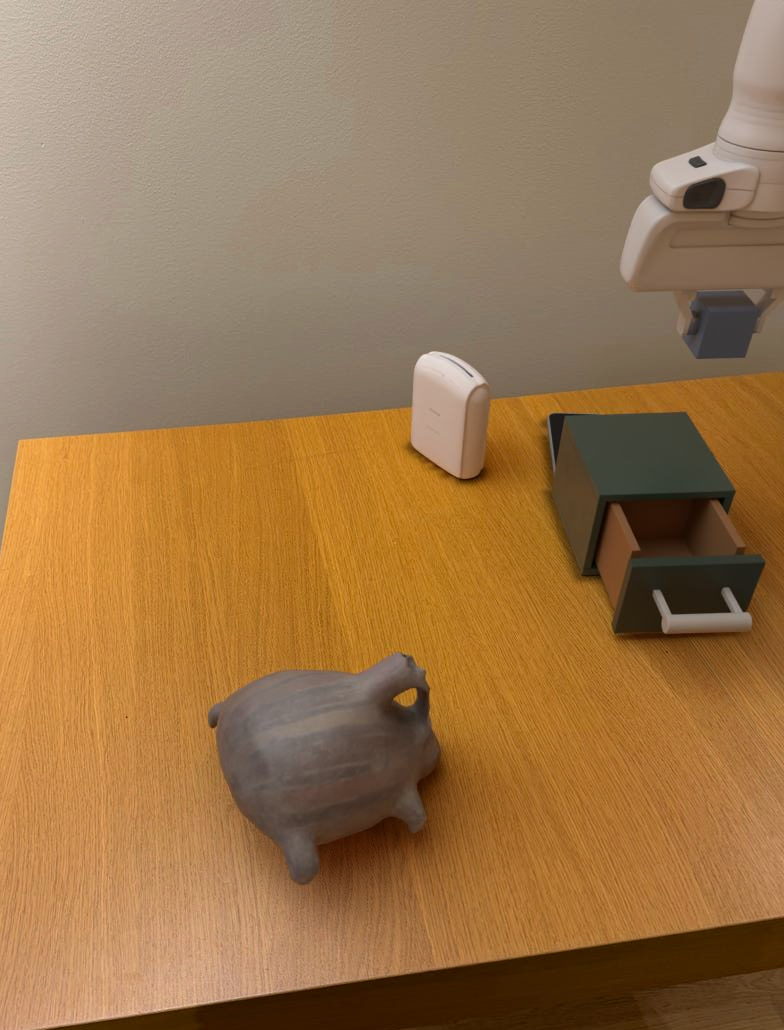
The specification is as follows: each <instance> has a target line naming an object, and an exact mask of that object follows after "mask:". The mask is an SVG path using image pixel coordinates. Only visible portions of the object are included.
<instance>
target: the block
mask: <svg viewBox="0 0 784 1030" xmlns="http://www.w3.org/2000/svg"><path fill="white" fill-rule="evenodd" d="M689 306H690V309H691V310H695V311H696V312H697V313H698V315H699V316H700V317H701V322H700V325H699V327H698V332H697V334H696V335H681V338H682V340H683V342H684V343H685V345H686V346H687V347H688V349H689V350H690V352H691V354H692V355H693V356H694V358H695V359H696V360H711V359H712V360H713V359H714V360H715V359H746V357H747V354H748V351H749V347H750V344H751V341H752V337H753V334H754V333H753V332H754V329H755V326H756V323H757V319H758V316H759V313H760V310H759V309H758V307H757V306H756V304H755V303H754V301H752V299H751V298H750V296H748V295H747V293H746V292H745V291H744V289H735V290H698V291H697V295H696V298H695V300H694V301H690V304H689Z"/></svg>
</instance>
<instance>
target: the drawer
mask: <svg viewBox="0 0 784 1030" xmlns="http://www.w3.org/2000/svg"><path fill="white" fill-rule="evenodd" d="M746 549H747V545H746V543H745V542H744V540H743V539H742V537H741V535H740V534H739V532H738V531H737V529H736V527H735V525H734V524H733V522H732V520H731V519H730V516H729V514H728V515H727V514H726V512H725V510H724V509H723V507H722V505H721V504H720V502H719V500H718V499H717V498H699V499H669V500H639V501H610V502H606V505H605V509H604V514H603V518H602V522H601V527H600V531H599V535H598V540H597V544H596V548H595V552H594V559H595V562H596V565H597V567H598V570H599V572H600V575H599V576H600V577H601V580H602V582H603V584H604V587H605V590H606V592H607V595H608V597H609V599H610V603H611V605H612V608H613V610H614V613H613V616H612V621H611V625H610V626H611V629H612V632H613V633H614V634H636V633H637V634H639V633H641V634H642V633H663V634H665V635H670V634H673V635H675V634H700V633H701V634H704V633H707V634H708V633H734V632H735V633H736V632H737V633H738V632H749V631H750V630H752V627H753V617H752V615H751V613H750V612H747V611H748V609H749V607H750V603H751V601H752V599H753V596H754V593H755V591H756V588H757V586H758V583H759V581H760V579H761V576H762V573H763V570H764V569H765V566H766V561H765V558H764V557H763V555H762V554H760V553H756V554H755V553H754V554H753V553H752V554H745V552H746Z"/></svg>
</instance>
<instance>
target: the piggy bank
mask: <svg viewBox="0 0 784 1030" xmlns="http://www.w3.org/2000/svg"><path fill="white" fill-rule="evenodd" d="M426 675H427V670H426V669H425V668H423V667H420V666H418V664H417V662H416V661H415V659H414V656H413V655H412V654H406V653H402V652H401V651H396V652H394V653H392V654H390V655H388V656H387V657H385V658H382V659H381V660H380V661H378V662H376V663H374V664H373V665H372V666H370V667H368V668H366V669H365V670H362V671H360V672H356V673H352V672H347V671H340V670H326V669H325V670H323V669H287V670H280V671H276V672H275V671H274V672H272V673H269V674H267V675H264V676H262V677H260V678H256V679H254V680H253V681H250V682H249V683H247V684H246V685H244V686H242V687H240V688H239V689H237V690H236V691H234V692H233V693H231V694H230V695H229V696H228V697H227V698H226V699H225V700H223V701H219V702H217V703H215V704H214V705H212V706H211V708H210V709H209V711H208V714H207V723H208V726H209V728H210V729H212V730H214V729H215V728H216V729H215V742H216V748H217V754H218V755H217V756H218V762H219V766H220V769H221V771H222V775H223V778H224V780H225V782H226V785H227V788H228V790H229V792H230V794H231V796H232V798H233V801H234V803H235V805H236V807H237V809H238V811H239V812H240V813H241V815H242V816H243V817H244V818H245V819H247V820H248V821H249V822H250V823H251V824H252V825H253V826H254V827H255V828H257V829H258V830H259V831H260V832H261V833H262V834H263V835H264V836H266V837H267V838H268V839H269V840H271V841H272V842H273V843H275V844H276V846H278V847H279V848H280V850H281V851H282V854H283V856H284V859H285V862H286V866H287V869H288V872H289V875H290V879H291V881H292V882H293V883H295V884H298V885H300V886H307V885H310V884H311V883H312V882H313V881H314V880H315V878H317V877H318V876H319V874H320V869H321V867H320V866H321V861H320V857H319V852H318V847H317V845H323V844H328V843H332V842H334V841H337V840H341V839H344V838H345V837H349V836H351V835H355V834H358V833H361V832H363V831H365V830H368V829H371V828H373V827H374V826H375V825H377V824H379V823H380V822H382V821H383V820H384V819H386V818H390V817H393V818H397V819H399V820H400V821H403V822H405V824H406V825H407V828H408V831H409V832H410V833H412V834H414V835H415V834H417V833H418V832H420V831H421V830H423V829H424V828H425V827H426V824H427V822H428V814H427V812H426V810H425V808H424V806H423V802H422V799H421V795H420V793H419V790H418V784H419V781H420V780H423V779H425V778H426V777H428V776H430V775H431V774H432V772H433V771H434V770H435V768H436V767H437V765H438V763H439V761H440V759H441V756H442V749H441V748H442V746H441V745H440V742H439V740H438V737H437V736H436V734H435V732H434V730H433V726H432V724H433V723H432V720H431V715H430V711H431V704H430V692H431V687H430V685H429V683H428V682H427V679H426ZM411 689H415V691H416V697H415V700H414V702H413V703H412V704H411V705H407V706H406V705H403V704H401V703H399V702H398V701H397V700H395V698H396V697H397V696H399V695H401V694H403V693H405V692H407V691H409V690H411Z"/></svg>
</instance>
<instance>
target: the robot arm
mask: <svg viewBox="0 0 784 1030" xmlns="http://www.w3.org/2000/svg"><path fill="white" fill-rule="evenodd" d="M736 56H737V57H736V61H735V63H734V67H733V68H734V69H733V71H732V72H733V73H732V95H731V99H730V103H729V106H728V109H727V111H726V113H725V114H724V117H723V118H722V120H721V122H720V125H719V128H718V131H717V135H716V139H715V141H713V142H711V143H709V144H706V145H703V146H701V147H699V148H696V149H693V150H691V151H688V152H684V153H682V154H679V155H676V156H673V157H670V158H668V159H664V160H661V161H659V162H657V163H656V164H655V165H653V167H652V168H651V170H650V174H649V181H648V183H649V188H650V189H651V191H652V192H653V193H652V194H650V195H649V196H646V197H645V198H644V199H643V200H642V202H640V204H639V205H638V207H637V209H636V210H635V213H634V215H633V218H632V220H631V223H630V226H629V228H628V232H627V235H626V238H625V242H624V245H623V249H622V254H621V257H620V261H619V262H620V263H619V272H620V273H619V274H620V275H621V278H622V279H623V281H624V283H625V284H626V285H627V286H628V288H629V289H630V290H631V291H633V292H635V293H650V292H651V293H653V292H672V294H673V297H674V300H675V302H676V305H677V308H678V310H679V315H678V318H677V323H676V331H677V333H678V334H679V335H680V336H682V335H696V334H697V332H698V327H699V325H700V322H701V317H700V316H699V315H698V313H697V312H696V311H695V310H691V309H690V303H689V302H692V301H694V300H695V298H696V295H697V292H698V291H730V290H758V289H759V290H761V289H762V291H763V292H764V294H763V295H762V297H760V298H759V300H758V301H757V303H756V304H755V305H756V306H757V307H758V309H759V310H760V313H759V316H758V319H757V323H756V326H755V329H754V332H753V334H761V333H762V331H763V328H764V325H765V322H766V320H767V317H769V316H770V315H771V314H772V313H773V312H774V311H775V310H776V309H777V308H778V307H779V306H780V304H782V303H783V302H784V0H754V1H753V4H752V6H751V10H750V12H749V16H748V19H747V22H746V25H745V28H744V31H743V34H742V39H741V41H740V45H739V49H738V52H737V55H736Z"/></svg>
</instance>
